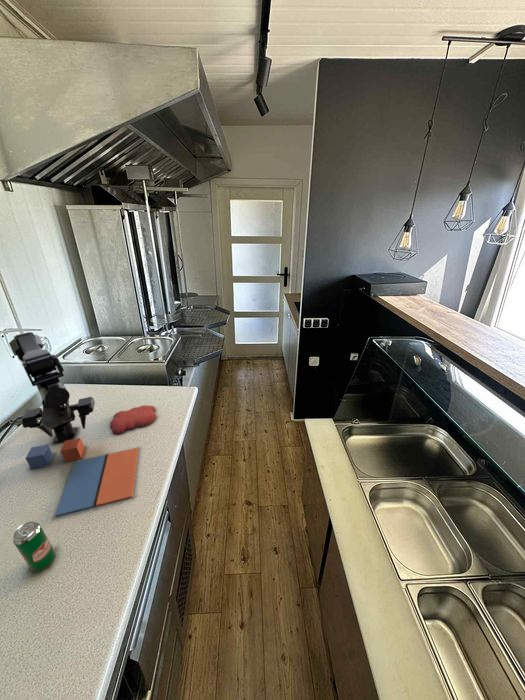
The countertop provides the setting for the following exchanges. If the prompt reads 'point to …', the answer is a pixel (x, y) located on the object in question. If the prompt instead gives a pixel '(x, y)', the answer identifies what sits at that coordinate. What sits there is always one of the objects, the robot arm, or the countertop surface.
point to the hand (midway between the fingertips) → (68, 432)
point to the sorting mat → (99, 481)
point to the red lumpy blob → (132, 419)
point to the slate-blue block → (39, 456)
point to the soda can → (34, 545)
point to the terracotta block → (72, 449)
